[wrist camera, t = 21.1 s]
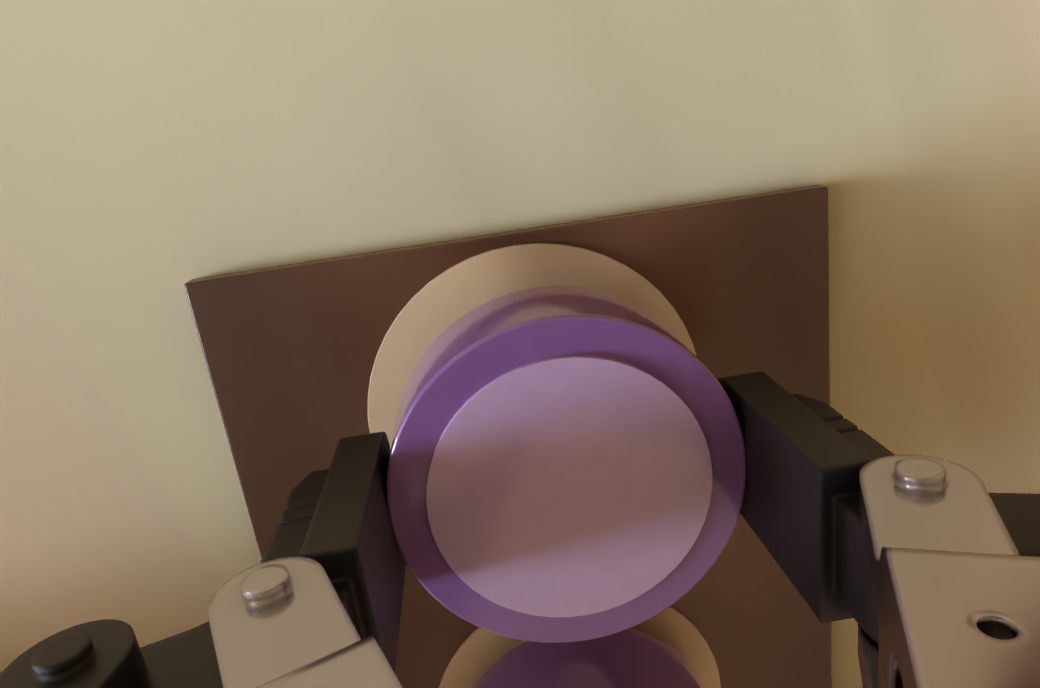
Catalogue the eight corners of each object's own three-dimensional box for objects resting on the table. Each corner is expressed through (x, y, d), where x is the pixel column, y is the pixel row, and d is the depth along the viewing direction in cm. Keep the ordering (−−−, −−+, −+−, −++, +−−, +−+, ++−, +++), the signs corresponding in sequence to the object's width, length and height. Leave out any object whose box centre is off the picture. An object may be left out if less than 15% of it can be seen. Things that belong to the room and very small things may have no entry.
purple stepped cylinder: (426, 579, 14) (420, 675, 12) (370, 305, 12) (350, 349, 10) (704, 531, 14) (757, 616, 12) (686, 257, 13) (743, 289, 10)
